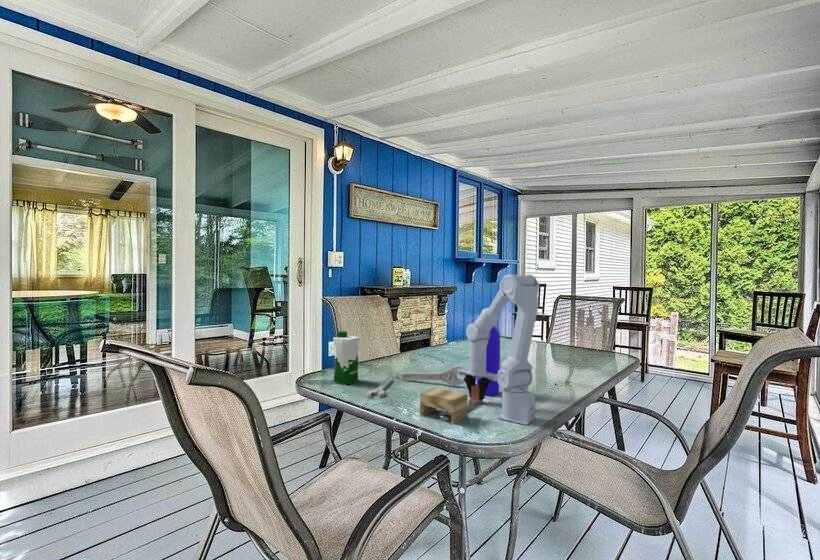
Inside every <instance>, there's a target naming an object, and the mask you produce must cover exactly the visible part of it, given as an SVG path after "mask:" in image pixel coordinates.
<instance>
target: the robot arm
mask: <svg viewBox="0 0 820 560" xmlns="http://www.w3.org/2000/svg"><path fill="white" fill-rule="evenodd" d="M498 286H499V290H498V292H497V293H496V295H495V297H494V298H493V300H492V302H491V304H490V305H489V307H485V308H483V309H482V310H481V313H480V314H479V315H478V317H477V318H476V319H475V321H474V322H472V323H469V324H468V325H467V326H466V329H465V331H466V332H465V334H466V337H467V339H468V340H469V350H468V351H469V359H468V360H469V361H468V362H469V363H468V368H465V369H462V368H460V369H458V373H457V376H458V375H459V376H461V375H462V376H465V377H463V380H464V381H465V382H464V383H465V384H466V387H467V390H468V393H469V398H470V399H471V385H473V384H476V383H477V378H481V379H480V380H478V383H479V390H480V392H479V398H480V400H483V401H484V399H485V397H486V396H485V393H486V390H487V387H488V385H489V383H490V381H491V380H493V381H498V384H499V388H500V389H501V390H502V393H501V413H500V414H499V415H498V416H496V418H497V419H498V420H503V421H509V422H511V423H517V424H521V425H524V426H525V425H526V426H527V425H529V424H530V423H531V422H532V421H533V420H535V419H536V416H535V415H536V395H535V393H533V392H532V391H528V389H529V387H530V385H531V384H532V382H533V365H532V363H530V362H529V361H528V357H529V353H530V348H531V344H532V339H533V334H534V329H535V324H536V319H537V315H538V314H537V313H538V310H539V298H538V297H539V295H538V294H539V290H540V283H539V282H538V280H537V278H536V277H535V275H532V274H511V273H508V274H506V275H504V276H503V278H502V280H501V281H500V282H499V285H498ZM510 301H511V302H512V303H513V304H515V305H516V307H517V312H516V318H515V323H514V327H513V333H512V337H511V343H510V348H509V353H508V357H507V358H505V360H504V361H502V363H500V370H499V371H498V373H497V374H494V373H490V372H487V371H486V346H487V344H488V339H489V338H490V334H491V333H490V330H491V329H492V327H493V326H496V323H497V322H498V320H499V319H500V316H499V314H500V313H501V311H502V310H503V309H504V308H505V306H506V305H507V304H508V303H509V302H510Z"/></svg>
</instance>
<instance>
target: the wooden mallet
mask: <svg viewBox="0 0 820 560" xmlns="http://www.w3.org/2000/svg"><path fill="white" fill-rule="evenodd" d="M479 392H480V390H479V384H477V383H475V384H473V385H471V398H470V399H467V411H469V410H471V409H473V408H475V407H477V406H478V405H480V404H483V403H484V399H483V400H480V398H479Z"/></svg>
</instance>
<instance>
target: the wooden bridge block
mask: <svg viewBox="0 0 820 560" xmlns="http://www.w3.org/2000/svg"><path fill="white" fill-rule="evenodd" d="M419 399H420V400H419V402H420V403H419V416H420V417H425V416H427V415H428V414H431V413H432V412H435V411H437V409H439V410H442V411H445V412H450V413H451V422H450V424H451V425H455V424H457V423H459V422H461V421H462V420H464V419H466V418H468V417H467V415H468V410H467V401H468V394H467V393H464V392H463V393H462V392H458V391H453V390H449V389H443V388H438V387H432V388H430V389H428V390H425V391H421V392H420V393H419Z"/></svg>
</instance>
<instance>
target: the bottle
mask: <svg viewBox="0 0 820 560" xmlns="http://www.w3.org/2000/svg"><path fill="white" fill-rule="evenodd" d="M490 333H491V334H490V338H489V339H488V344H487V346H486V371H487V372H490V373H494V374H497V373H498V371H499V370H500V368H501V335H500V332H499V330H498V329H497V328H496V325H494V326H493V327H492V329H491V330H490ZM480 379H481V378H477V377H476V384H479V383H478V380H480ZM499 392H500V386H499V384H498V381H493V380H491V381H490V383H489V385H488V387H487V390H486V393H485V396H484V397H494V396H498V395H499Z"/></svg>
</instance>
